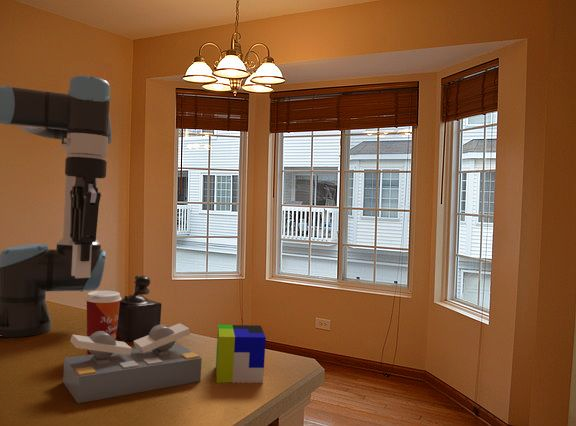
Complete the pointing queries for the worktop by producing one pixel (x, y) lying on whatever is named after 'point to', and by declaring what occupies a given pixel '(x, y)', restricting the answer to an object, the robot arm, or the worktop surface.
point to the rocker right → (161, 337)
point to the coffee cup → (102, 312)
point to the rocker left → (100, 344)
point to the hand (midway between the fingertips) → (80, 276)
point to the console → (130, 372)
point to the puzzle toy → (240, 354)
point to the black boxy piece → (137, 313)
